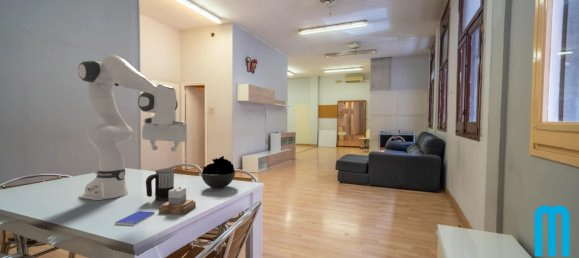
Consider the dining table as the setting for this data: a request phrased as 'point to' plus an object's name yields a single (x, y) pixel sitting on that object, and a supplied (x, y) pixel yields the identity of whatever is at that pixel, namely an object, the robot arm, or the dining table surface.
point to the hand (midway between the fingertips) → (164, 150)
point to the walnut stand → (177, 207)
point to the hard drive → (134, 218)
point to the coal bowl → (218, 173)
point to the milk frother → (161, 184)
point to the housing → (177, 195)
